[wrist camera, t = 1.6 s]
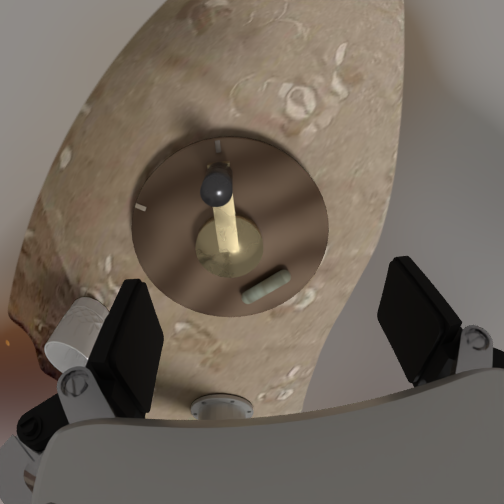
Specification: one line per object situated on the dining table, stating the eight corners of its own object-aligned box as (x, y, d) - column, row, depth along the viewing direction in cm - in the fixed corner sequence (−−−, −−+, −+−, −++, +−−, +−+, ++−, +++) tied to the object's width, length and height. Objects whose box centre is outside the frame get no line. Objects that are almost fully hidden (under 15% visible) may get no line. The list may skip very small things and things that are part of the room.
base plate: (352, 250, 35) (362, 265, 32) (214, 329, 41) (213, 348, 37) (254, 95, 26) (257, 94, 23) (102, 217, 31) (90, 230, 28)
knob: (264, 266, 33) (271, 307, 27) (202, 272, 33) (196, 314, 27) (255, 154, 27) (262, 171, 20) (183, 162, 27) (167, 182, 20)
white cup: (67, 288, 36) (37, 334, 27) (113, 299, 37) (90, 351, 28) (74, 325, 39) (52, 371, 31) (117, 336, 41) (100, 386, 32)
